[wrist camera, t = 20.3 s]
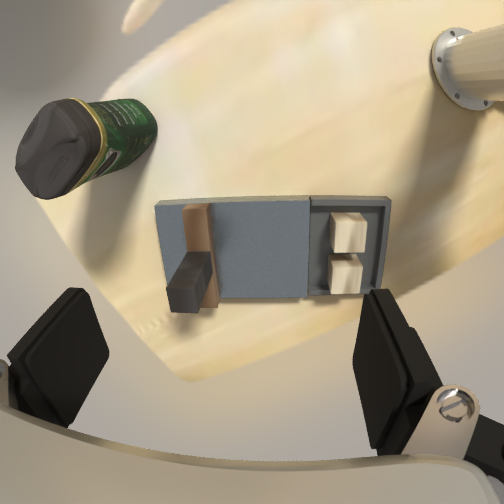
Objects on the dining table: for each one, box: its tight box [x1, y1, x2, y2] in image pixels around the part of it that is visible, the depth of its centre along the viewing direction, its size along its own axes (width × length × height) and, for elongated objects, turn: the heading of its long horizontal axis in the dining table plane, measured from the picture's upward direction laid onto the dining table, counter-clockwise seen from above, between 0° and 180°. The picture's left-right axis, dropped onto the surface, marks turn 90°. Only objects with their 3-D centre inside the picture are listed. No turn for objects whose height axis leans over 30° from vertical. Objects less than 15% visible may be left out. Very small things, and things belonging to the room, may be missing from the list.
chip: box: [329, 212, 367, 253], centre depth 39 cm, size 4×4×4 cm
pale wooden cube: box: [327, 254, 363, 294], centre depth 42 cm, size 4×4×4 cm
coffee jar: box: [15, 98, 157, 200], centre depth 30 cm, size 10×8×19 cm
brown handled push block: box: [166, 203, 220, 313], centre depth 37 cm, size 3×14×12 cm, turn 3°
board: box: [154, 195, 310, 298], centre depth 43 cm, size 20×14×2 cm
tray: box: [308, 195, 391, 295], centre depth 42 cm, size 11×14×2 cm
